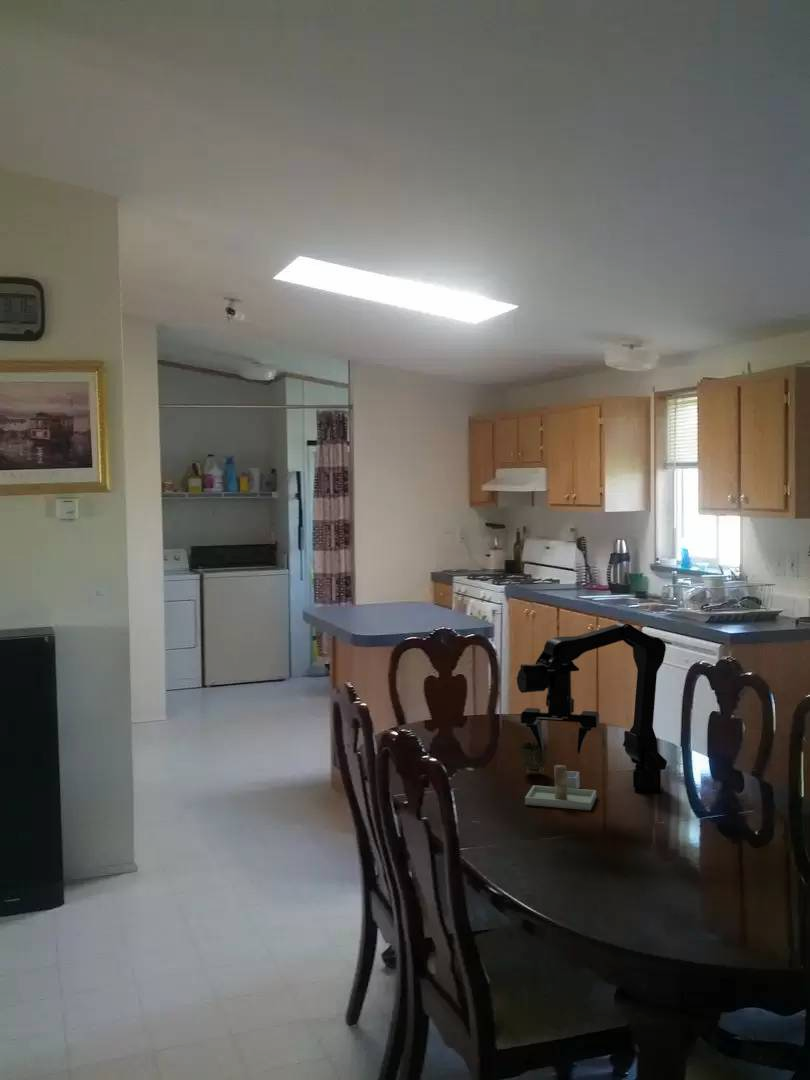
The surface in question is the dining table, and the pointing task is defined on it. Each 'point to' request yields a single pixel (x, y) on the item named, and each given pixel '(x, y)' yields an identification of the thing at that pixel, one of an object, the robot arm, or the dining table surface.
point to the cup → (533, 757)
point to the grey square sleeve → (573, 779)
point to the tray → (574, 800)
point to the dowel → (560, 782)
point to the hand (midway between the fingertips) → (560, 751)
